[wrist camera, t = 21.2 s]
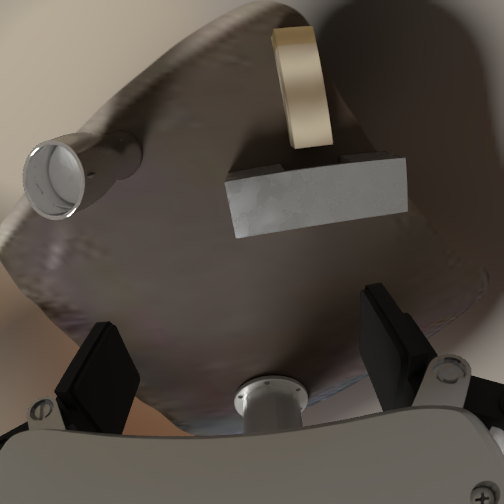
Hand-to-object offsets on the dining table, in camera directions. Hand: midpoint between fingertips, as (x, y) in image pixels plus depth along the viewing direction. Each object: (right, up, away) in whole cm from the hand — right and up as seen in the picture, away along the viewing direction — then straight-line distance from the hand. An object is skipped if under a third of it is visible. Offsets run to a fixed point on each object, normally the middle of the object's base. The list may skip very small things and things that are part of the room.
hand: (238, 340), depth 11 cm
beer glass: (-15, +15, +24) cm, 32 cm away
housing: (+8, +11, +25) cm, 29 cm away
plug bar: (+6, +21, +21) cm, 30 cm away
